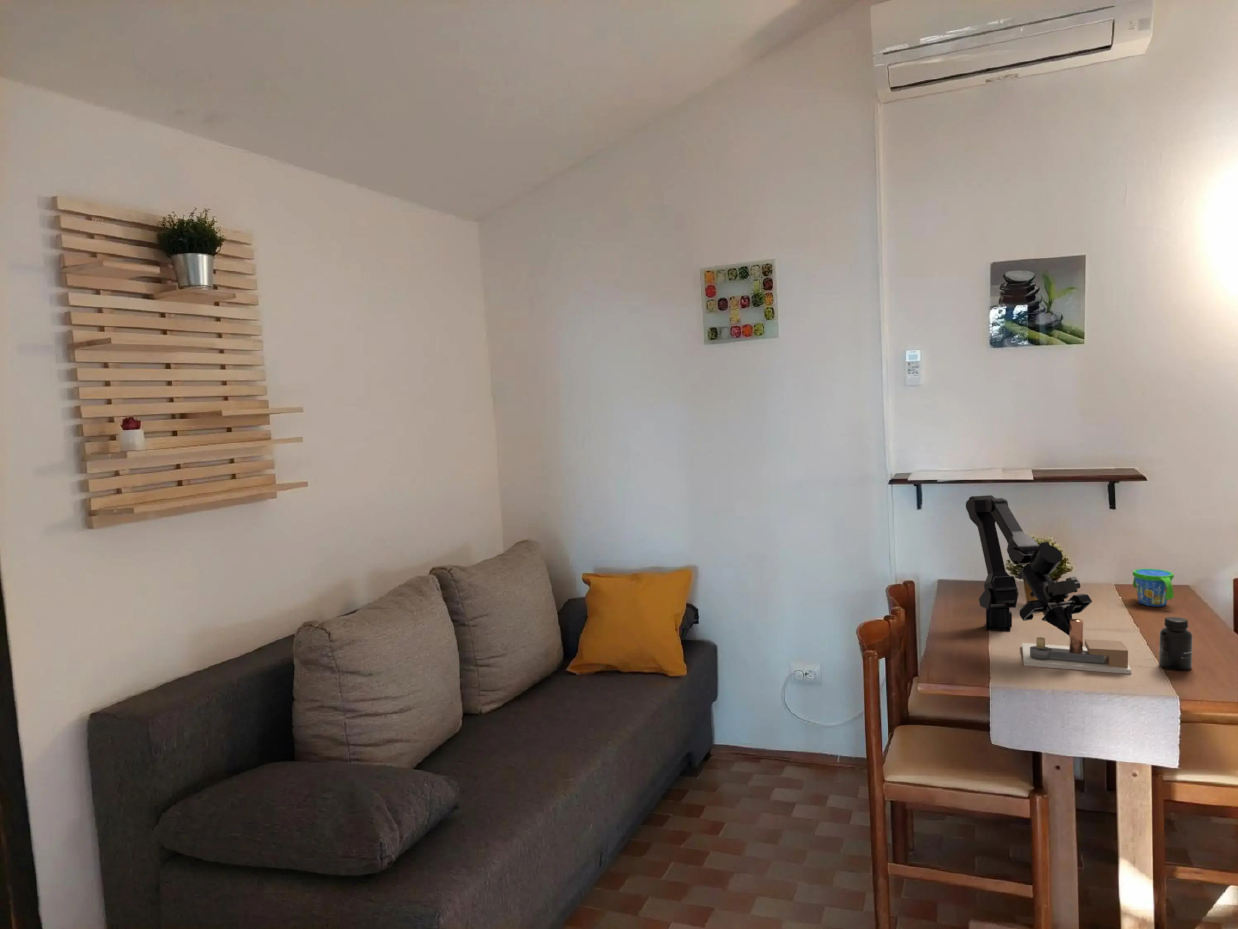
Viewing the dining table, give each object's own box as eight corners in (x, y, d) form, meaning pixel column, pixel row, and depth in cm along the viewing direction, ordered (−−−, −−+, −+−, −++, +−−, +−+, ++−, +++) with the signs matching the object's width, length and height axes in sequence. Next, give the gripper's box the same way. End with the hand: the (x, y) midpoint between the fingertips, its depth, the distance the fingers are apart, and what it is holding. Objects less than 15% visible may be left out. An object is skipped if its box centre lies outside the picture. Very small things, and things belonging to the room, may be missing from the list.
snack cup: (1185, 610, 263) (1185, 577, 262) (1149, 611, 263) (1149, 578, 262) (1156, 597, 278) (1156, 566, 277) (1122, 598, 279) (1122, 567, 278)
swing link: (1029, 658, 222) (1029, 620, 221) (1029, 652, 226) (1029, 614, 225) (1104, 664, 214) (1104, 625, 214) (1102, 658, 219) (1102, 619, 218)
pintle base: (1024, 665, 220) (1023, 642, 220) (1022, 646, 235) (1022, 624, 235) (1131, 674, 211) (1131, 649, 210) (1122, 653, 226) (1122, 631, 226)
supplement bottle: (1192, 673, 210) (1193, 624, 209) (1158, 669, 214) (1159, 621, 212) (1191, 664, 216) (1192, 617, 215) (1159, 661, 219) (1159, 614, 218)
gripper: (1027, 570, 222) (1060, 623, 213) (1086, 563, 227) (1121, 615, 218) (1005, 594, 230) (1036, 646, 221) (1063, 586, 236) (1095, 637, 226)
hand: (1073, 635), depth 221 cm, fingers closed
